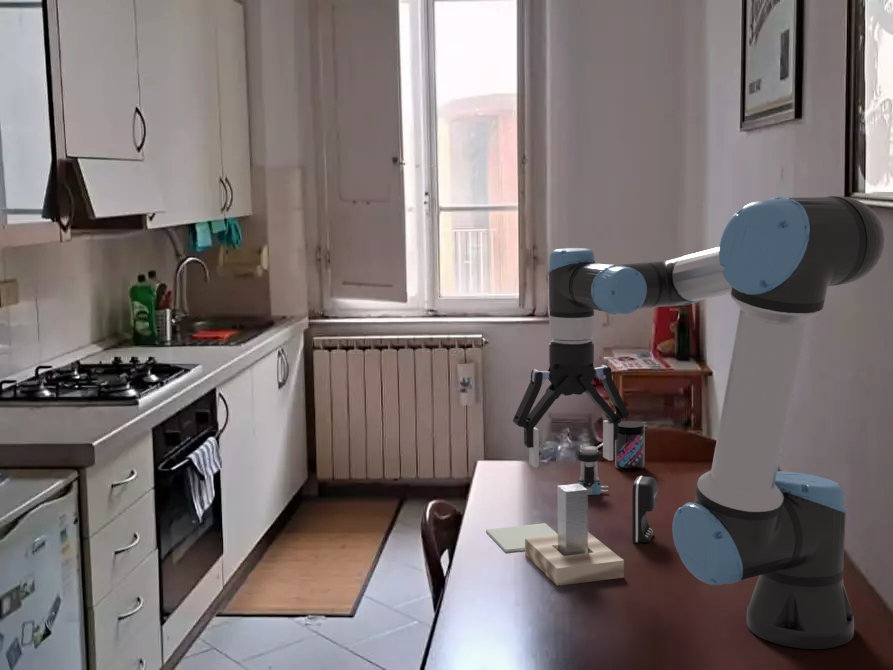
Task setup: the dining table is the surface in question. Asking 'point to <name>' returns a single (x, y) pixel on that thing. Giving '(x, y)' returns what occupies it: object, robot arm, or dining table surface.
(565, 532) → the peg
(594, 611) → the dining table surface
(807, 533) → the robot arm
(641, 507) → the key lock box
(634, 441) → the supplement container
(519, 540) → the pad
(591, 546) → the socket block
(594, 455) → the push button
